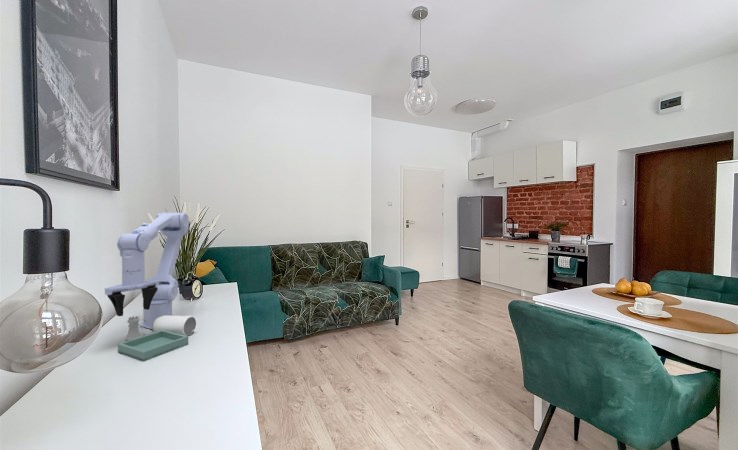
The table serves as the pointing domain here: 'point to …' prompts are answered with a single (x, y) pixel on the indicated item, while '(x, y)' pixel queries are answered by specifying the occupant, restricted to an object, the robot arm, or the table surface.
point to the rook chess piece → (133, 329)
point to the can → (175, 324)
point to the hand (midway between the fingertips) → (133, 312)
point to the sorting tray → (152, 345)
